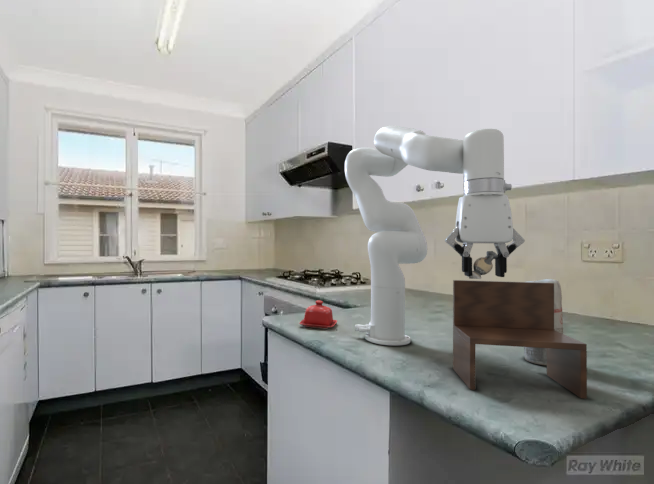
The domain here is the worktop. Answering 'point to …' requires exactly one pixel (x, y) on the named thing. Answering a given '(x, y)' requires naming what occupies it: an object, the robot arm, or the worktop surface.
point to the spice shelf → (514, 328)
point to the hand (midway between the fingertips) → (483, 275)
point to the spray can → (541, 353)
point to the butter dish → (318, 316)
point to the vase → (483, 265)
